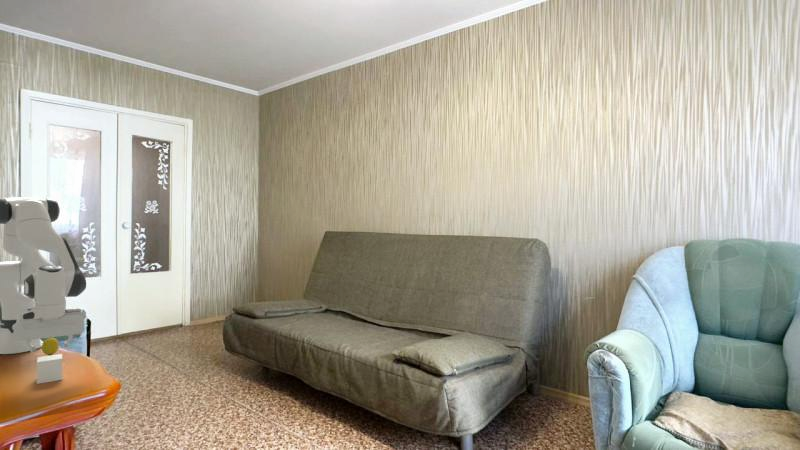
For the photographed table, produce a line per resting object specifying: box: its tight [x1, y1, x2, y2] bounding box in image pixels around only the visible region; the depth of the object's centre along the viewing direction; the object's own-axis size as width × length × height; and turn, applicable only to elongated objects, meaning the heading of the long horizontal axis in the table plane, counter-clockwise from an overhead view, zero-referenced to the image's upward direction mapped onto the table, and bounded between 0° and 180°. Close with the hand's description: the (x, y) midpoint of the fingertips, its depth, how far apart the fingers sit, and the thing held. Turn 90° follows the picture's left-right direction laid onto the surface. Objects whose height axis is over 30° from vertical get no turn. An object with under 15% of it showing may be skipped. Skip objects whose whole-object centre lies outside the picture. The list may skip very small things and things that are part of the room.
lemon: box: [41, 337, 60, 356], centre depth 184 cm, size 6×6×8 cm
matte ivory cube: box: [36, 353, 63, 385], centre depth 158 cm, size 7×7×8 cm
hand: (50, 349), depth 158 cm, fingers open, 8 cm apart
